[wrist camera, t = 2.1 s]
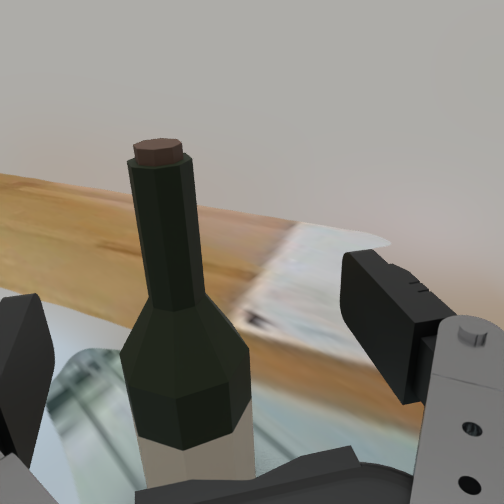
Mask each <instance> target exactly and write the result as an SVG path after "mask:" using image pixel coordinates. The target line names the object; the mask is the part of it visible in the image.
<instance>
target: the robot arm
mask: <svg viewBox="0 0 504 504" xmlns="http://www.w3.org/2000/svg"><path fill="white" fill-rule="evenodd" d="M340 309H341V314H342V317H343V320H344V322H345V323H346V325H347V326H348V328H349V329H350V330H351V332H352V333H353V335H354V336H355V338H356V339H357V340H358V342H359V343H360V345H361V346H362V348H363V349H364V350H365V352H366V353H367V355H368V356H369V358H370V359H371V360H372V362H373V363H374V365H375V366H376V368H377V369H378V370H379V372H380V373H381V375H382V376H383V378H384V379H385V380H386V382H387V383H388V385H389V386H390V388H391V389H392V390H393V392H394V393H395V395H396V396H397V398H398V399H399V400H400V402H401V403H402V405H405V404H410V403H415V402H420V401H421V402H422V403H423V405H424V406H425V407H424V412H423V418H422V424H421V430H420V436H419V442H418V448H417V454H416V459H415V465H414V471H413V476H412V475H410V474H408V473H406V472H403V471H401V470H398V469H395V468H392V467H388V466H384V465H380V464H374V463H366V462H359V461H358V459H357V457H356V455H355V453H354V451H353V449H352V447H351V445H350V446H345V447H341V448H336V449H331V450H327V451H322V452H317V453H313V454H308V455H303V456H300V457H298V458H296V459H294V460H292V461H290V462H288V463H286V464H284V465H281V466H279V467H277V468H275V469H273V470H271V471H269V472H267V473H265V474H263V475H261V476H259V477H257V478H254V479H251V480H196V479H191V480H187V481H182V482H177V483H172V484H168V485H163V486H158V487H154V488H149V489H144V490H140V491H135V504H504V331H503V330H502V329H500V327H498V326H497V325H495V324H493V323H491V322H489V321H487V320H485V319H482V318H478V317H474V316H468V315H457V314H456V313H455V312H453V311H452V310H451V309H450V308H449V307H448V306H447V305H446V304H445V303H443V302H442V301H441V300H440V299H439V298H438V297H437V296H436V295H434V294H433V293H432V292H429V289H428V288H427V287H426V286H425V285H423V284H422V283H420V281H419V280H418V279H417V278H416V277H415V276H413V275H412V274H411V273H410V272H409V271H407V270H405V269H403V268H400V267H399V266H396V265H394V264H388V263H387V262H386V261H385V260H384V259H382V258H381V257H380V256H379V255H378V254H377V253H376V252H375V251H374V250H372V249H368V250H361V251H353V252H346V253H345V254H344V256H343V259H342V272H341V289H340ZM54 355H55V354H54V347H53V343H52V339H51V335H50V332H49V328H48V325H47V321H46V317H45V314H44V310H43V307H42V303H41V300H40V298H39V296H38V294H36V293H34V294H26V295H19V296H12V297H4V298H3V299H2V300H1V302H0V504H58V503H57V502H56V500H55V499H54V498H53V497H52V496H51V495H50V494H49V492H48V491H47V490H46V489H45V488H44V487H43V485H42V484H41V483H40V482H39V481H38V480H37V479H36V477H35V476H34V475H33V474H32V473H31V472H30V471H29V468H30V464H31V460H32V456H33V452H34V448H35V444H36V440H37V436H38V432H39V428H40V424H41V420H42V416H43V412H44V408H45V404H46V400H47V396H48V392H49V388H50V384H51V380H52V376H53V372H54V366H55V356H54Z"/></svg>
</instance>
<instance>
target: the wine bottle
mask: <svg viewBox="0 0 504 504" xmlns="http://www.w3.org/2000/svg"><path fill="white" fill-rule="evenodd" d="M133 147H134V153H135V158H133V159H130V160H128V161H127V165H128V170H129V177H130V184H131V189H132V196H133V202H134V208H135V215H136V221H137V227H138V233H139V239H140V246H141V252H142V258H143V264H144V270H145V277H146V283H147V289H148V295H149V298H148V300H147V302H146V304H145V306H144V307H143V309H142V311H141V313H140V315H139V317H138V319H137V321H136V323H135V325H134V327H133V329H132V331H131V333H130V335H129V336H128V338H127V340H126V342H125V344H124V346H123V348H122V350H121V352H120V359H121V364H122V369H123V373H124V378H125V383H126V388H127V393H128V397H129V402H130V407H131V412H132V417H133V421H134V426H135V431H136V436H137V441H138V445H139V450H140V455H141V460H142V465H143V469H144V474H145V479H146V484H147V488H148V489H149V488H154V487H158V486H163V485H168V484H172V483H177V482H182V481H187V480H191V479H196V480H251V479H254V478H256V476H255V456H254V436H253V416H252V396H251V376H250V356H249V348H248V347H247V345H246V344H245V342H244V341H243V339H242V338H241V336H240V335H239V333H238V332H237V330H236V329H235V327H234V326H233V324H232V323H231V322H230V321H229V319H228V318H227V317H226V316H225V315H224V314H223V312H222V311H221V310H220V309H219V308H218V307H217V306H216V304H215V303H214V302H213V301H212V300H211V299H210V297H209V296H208V295H207V294H206V293H205V286H204V276H203V265H202V255H201V244H200V234H199V224H198V213H197V203H196V193H195V184H194V183H195V182H194V172H193V163H192V158H191V157H190V156H188V155H187V154H186V153H183V149H182V143H181V142H180V141H179V140H177V139H166V138H165V139H164V138H160V139H151V140H144V141H141V142H139V143H136V144H134V145H133Z"/></svg>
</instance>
